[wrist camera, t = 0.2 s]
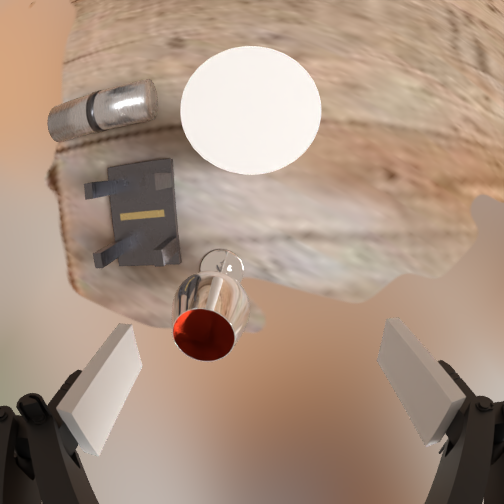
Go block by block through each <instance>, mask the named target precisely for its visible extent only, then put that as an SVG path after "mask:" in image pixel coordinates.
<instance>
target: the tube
mask: <svg viewBox="0 0 504 504" xmlns="http://www.w3.org/2000/svg"><path fill="white" fill-rule="evenodd" d="M157 107H158V101H157V93H156V89H155V86H154V83H153V82H152V80H150V79H146V80H141V81H137V82H132V83H128V84H124V85H120V86H117V87H113V88H109V89H106V90H100V91H97V92H93V93H92V94H89V95H86V96H83V97H80V98H77V99H74V100H71V101H68V102H66V103H63V104H60V105H58V106H56V107H54V108H53V109H52V110H51V111H50V113H49V116H48V130H49V133H50V135H51V137H52V138H53V139H54V140H55V141H57V142H62V141H66V140H69V139H72V138H76V137H79V136H83V135H87V134H91V133H95V132H101V131H105V130H108V129H111V128H116V127H120V126H125V125H130V124H135V123H140V122H145V121H151V120H154V119H155V117H156V114H157Z"/></svg>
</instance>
